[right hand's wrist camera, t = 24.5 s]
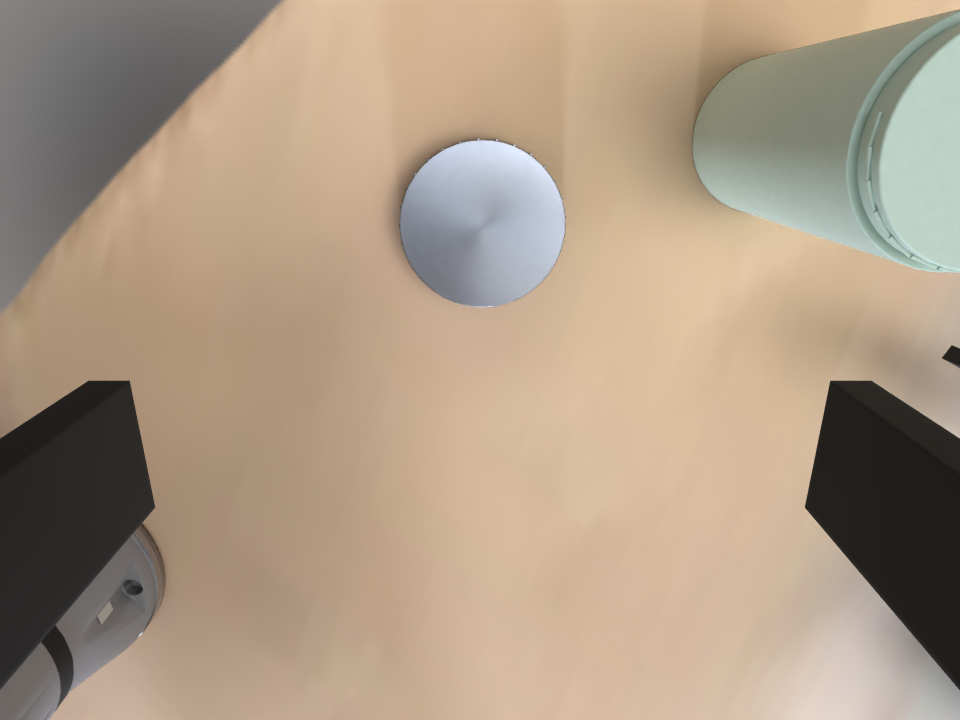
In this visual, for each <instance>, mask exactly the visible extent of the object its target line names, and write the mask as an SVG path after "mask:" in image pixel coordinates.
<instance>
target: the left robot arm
mask: <svg viewBox="0 0 960 720" xmlns="http://www.w3.org/2000/svg"><path fill="white" fill-rule="evenodd" d="M943 359H944V360H946V361H948V362H950V363H952V364H954V365H956V366H957V367H959V368H960V349H959V348H957V347H955V346H951V347H950V348H949V350H948V351H947V352H946V354H945V355H944V356H943Z"/></svg>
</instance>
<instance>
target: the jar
mask: <svg viewBox="0 0 960 720" xmlns="http://www.w3.org/2000/svg"><path fill="white" fill-rule="evenodd" d="M692 149H693V159H694V163H695V167H696V170H697V173H698V175H699V178H700V179H701V181H702V183H703V185H704V186H705V187H706V189H707V190H708V191H709V192H710V193H711V194H712V195H713V196H714V197H715V198H716V199H717V200H719V201H720V202H721V203H723V204H725V205H727V206H729V207H731V208H734V209H736V210H739V211H742V212H745V213H748V214H751V215H755V216H758V217H761V218H764V219H767V220H770V221H773V222H776V223H779V224H782V225H785V226H788V227H791V228H794V229H797V230H800V231H803V232H806V233H809V234H812V235H815V236H818V237H821V238H824V239H827V240H830V241H833V242H836V243H839V244H842V245H845V246H848V247H851V248H854V249H857V250H860V251H863V252H866V253H870V254H873V255H876V256H879V257H882V258H885V259H888V260H891V261H894V262H897V263H900V264H903V265H906V266H909V267H912V268H915V269H920V270H925V271H930V272H956V273H960V9H959V10H955V11H951V12H946V13H942V14H938V15H934V16H930V17H926V18H922V19H917V20H913V21H909V22H905V23H901V24H897V25H892V26H888V27H884V28H880V29H876V30H872V31H868V32H863V33H859V34H855V35H851V36H847V37H843V38H838V39H834V40H830V41H826V42H822V43H818V44H814V45H809V46H805V47H801V48H797V49H793V50H789V51H784V52H780V53H776V54H772V55H768V56H764V57H760V58H756V59H753V60H751V61H748V62H746V63H744V64H742V65H740V66H738V67H737V68H735V69H734V70H732V71H731V72H730V73H728V74H727V75H726V76H725V77H724V78H723V79H721V80H720V81H719V83H718V84H717V85H716V86H715V87H714V88H713V89H712V91H711V92H710V94H709V95H708V96H707V98H706V100H705V102H704V103H703V105H702V107H701V109H700V112H699V114H698V117H697V120H696V123H695V127H694V133H693V144H692Z"/></svg>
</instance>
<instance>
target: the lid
mask: <svg viewBox="0 0 960 720" xmlns="http://www.w3.org/2000/svg"><path fill="white" fill-rule="evenodd" d="M545 168H546V167H545V166H544V165H542V164H540V163H539V162H538V161H537V160H536V159H535V158H534V157H532V154H531V153H529V154H528V153H527V152H525V151H524V150H522V149H520V148H518V147H516V145H515V144H513V145H511V144H508V143H505V142H502V141H498V139H496V140H490V139H479V138H477V139H476V140H468V141H464V142H461V141H459V143H457V144H454V145H452V146H449V147H447V148H442V151H440V152H438V153H437V154H436V155H434V156H433V157H432V158H428V159H427V162H426V163H425V164H424V165H423V166H422V167H421V168H420V169H419V171H418V172H416V173H415V176H414V177H413V179H412V181H411V183H410V184H409V186H408V188H407V189H406V190H405V191H406V193H405V196H404V199H403V203H402V206H401V213H400V224H399V227H400V234H401V241H402V244H403V248H404V251H405V254H406V256H407V259H408V261H409V263H410V264H411V266H412V268H413V270H414V271H415V272H416V274H417V275H418V276H419V278H420V279H421V280H422V281H423V282H424V283H425V284H426V285H427V286H428V287H429V288H431V289H432V290H433V291H434V292H436V293H437V294H439V295H441V296H442V297H444V298H446V299H448V300H450V301H453V302H455V303H459V304H462V305H467V306H473V307H492V306H498V305H503V304H506V303H509V302H512V301H515V300H517V299H519V298H521V297H523V296H525V295H526V294H528V293H529V292H531V291H532V290H533V289H534V288H536V287H537V286H538V285H539V284H540V283H541V282H542V281H543V280H544V279H545V278H546V276H547V275H548V274H549V272H550V271H551V270H552V268H553V267H554V265H555V263H556V261H557V259H558V257H559V254H560V251H561V248H562V245H563V241H564V236H565V218H566V216H565V212H564V206H563V201H562V200H563V198H561V195H560V192H559V190H558V188H557V186H556V184H555V183H556V181H554V180H553V179H552V177H551V176H550V174H549V173H548V171H547V170H546V169H545Z"/></svg>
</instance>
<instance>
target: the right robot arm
mask: <svg viewBox="0 0 960 720" xmlns="http://www.w3.org/2000/svg"><path fill="white" fill-rule="evenodd" d="M154 508H155V504H154V500H153V495H152V490H151V485H150V480H149V475H148V470H147V465H146V460H145V455H144V450H143V445H142V440H141V435H140V430H139V425H138V420H137V415H136V410H135V405H134V400H133V395H132V390H131V385H130V381H88V382H86V383H85V384H83V385H82V386H80V387H78V388H77V389H75V390H74V391H72V392H71V393H69V394H68V395H66V396H65V397H63V398H62V399H60V400H59V401H57V402H56V403H54V404H52V405H51V406H49V407H48V408H46V409H45V410H43V411H42V412H40V413H39V414H37V415H36V416H34V417H33V418H31V419H30V420H28V421H27V422H25V423H23V424H22V425H20V426H19V427H17V428H16V429H14V430H13V431H11V432H10V433H8V434H7V435H5V436H4V437H2V438H1V439H0V720H49V719H50V718H51V717H52V715H53V714H54V712H55V711H56V709H57V708H58V707H59V705H60V704H61V702H62V701H63V700H64V698H65V697H66V696H67V694H68V693H69V692H70V691H71V690H72V689H74V688H75V687H76V686H78V685H79V684H80V683H82V682H83V681H84V680H86V679H87V678H88V677H90V676H91V675H92V674H94V673H95V672H96V671H98V670H99V669H100V668H102V667H103V666H104V665H106V664H107V663H108V662H110V661H111V660H112V659H114V658H115V657H116V656H118V655H119V654H120V653H122V652H123V651H124V650H126V649H127V648H128V647H129V646H130V645H131V644H132V643H133V642H134V641H135V640H136V639H137V638H138V637H139V636H140V635H141V634H142V633H143V632H144V630H145V629H146V627H147V626H148V624H149V623H150V621H151V620H152V618H153V617H154V615H155V614H156V612H157V611H158V608H159V606H160V604H161V601H162V598H163V594H164V588H165V574H164V568H163V563H162V560H161V557H160V554H159V552H158V550H157V547H156V546H155V544H154V542H153V540H152V539H151V537H150V536H149V534H148V533H147V531H146V530H145V529H144V528H143V526H142V525H141V524H142V522H143V521H144V520H145V519H146V518H147V516H148V515H149V514H150V513H151V512H152V511H153V509H154ZM805 508H806V509H807V511H808V512H809V513H810V514H811V515H812V516H813V518H814V519H815V520H816V521H817V522H818V524H819V525H820V526H821V527H822V528H823V529H824V531H825V532H826V533H827V534H828V535H829V536H830V538H831V539H832V540H833V541H834V542H835V544H836V545H837V546H838V547H839V548H840V549H841V551H842V552H843V553H844V554H845V555H846V557H847V558H848V559H849V560H850V561H851V562H852V564H853V565H854V566H855V567H856V568H857V569H858V571H859V572H860V573H861V574H862V575H863V577H864V578H865V579H866V580H867V581H868V582H869V584H870V585H871V586H872V587H873V588H874V590H875V591H876V592H877V593H878V594H879V595H880V597H881V598H882V599H883V600H884V601H885V602H886V604H887V605H888V606H889V607H890V608H891V610H892V611H893V612H894V613H895V614H896V615H897V617H898V618H899V619H900V620H901V621H902V622H903V624H904V625H905V626H906V627H907V628H908V630H909V631H910V632H911V633H912V634H913V635H914V637H915V638H916V639H917V640H918V641H919V643H920V644H921V645H922V646H923V647H924V648H925V650H926V651H927V652H928V653H929V654H930V655H931V657H932V658H933V659H934V660H935V661H936V663H937V664H938V665H939V666H940V667H941V668H942V670H943V671H944V672H945V673H946V674H947V675H948V677H949V678H950V679H951V680H952V681H953V683H954V684H955V685H956V686H957V687H958V688H959V690H960V439H959V438H958V437H956V436H955V435H953V434H952V433H950V432H949V431H947V430H946V429H944V428H943V427H941V426H940V425H938V424H937V423H935V422H933V421H932V420H930V419H929V418H927V417H926V416H924V415H923V414H921V413H920V412H918V411H917V410H915V409H914V408H912V407H911V406H909V405H907V404H906V403H904V402H903V401H901V400H900V399H898V398H897V397H895V396H894V395H892V394H891V393H889V392H888V391H886V390H885V389H883V388H882V387H880V386H878V385H877V384H875V383H874V382H872V381H830V385H829V390H828V395H827V400H826V405H825V410H824V415H823V420H822V425H821V430H820V435H819V440H818V445H817V450H816V455H815V460H814V465H813V470H812V475H811V480H810V485H809V490H808V495H807V499H806V504H805Z"/></svg>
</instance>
